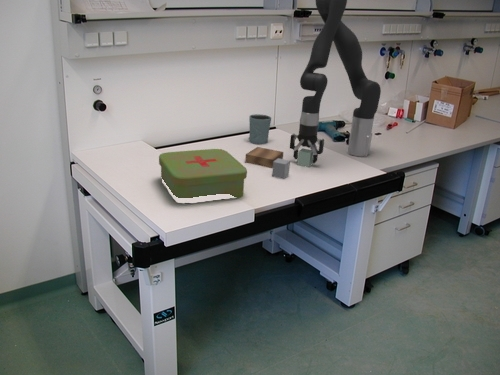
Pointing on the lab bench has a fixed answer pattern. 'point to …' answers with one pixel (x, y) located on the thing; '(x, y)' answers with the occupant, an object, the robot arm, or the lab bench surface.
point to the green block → (305, 157)
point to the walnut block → (263, 157)
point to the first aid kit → (202, 173)
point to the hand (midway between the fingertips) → (304, 160)
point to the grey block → (281, 168)
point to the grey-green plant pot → (259, 128)
